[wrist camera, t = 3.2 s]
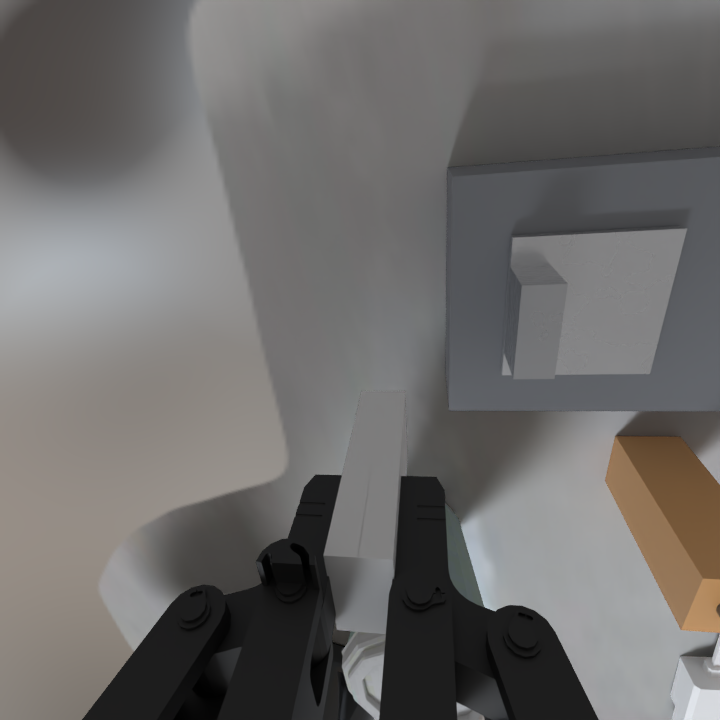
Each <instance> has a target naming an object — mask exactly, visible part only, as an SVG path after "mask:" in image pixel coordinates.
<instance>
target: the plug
mask: <svg viewBox="0 0 720 720" xmlns="http://www.w3.org/2000/svg"><path fill="white" fill-rule="evenodd" d="M605 482H606V484H607V486H608V488H609V489H610V491H611V493H612V495H613V497H614V499H615V501H616V503H617V505H618V507H619V509H620V511H621V513H622V515H623V517H624V519H625V521H626V523H627V525H628V527H629V529H630V531H631V533H632V535H633V537H634V539H635V541H636V543H637V545H638V546H639V548H640V550H641V552H642V554H643V556H644V558H645V560H646V562H647V564H648V566H649V568H650V570H651V572H652V574H653V576H654V578H655V580H656V582H657V584H658V586H659V588H660V590H661V592H662V594H663V596H664V598H665V600H666V601H667V603H668V605H669V607H670V609H671V611H672V613H673V615H674V617H675V619H676V621H677V623H678V625H679V627H680V629H681V630H688V631H702V632H717V633H720V485H719V483H718V482H717V481H716V480H715V478H714V477H713V476H712V475H711V474H710V472H709V471H708V470H707V469H706V467H705V466H704V465H703V464H702V463H701V461H700V460H699V459H698V458H697V456H696V455H695V454H694V453H693V452H692V450H691V449H690V448H689V447H688V445H687V444H686V443H685V442H684V441H683V439H682V438H681V437H666V436H615V440H614V444H613V448H612V453H611V457H610V461H609V466H608V470H607V474H606V479H605Z"/></svg>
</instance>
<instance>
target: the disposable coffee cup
mask: <svg viewBox="0 0 720 720" xmlns="http://www.w3.org/2000/svg"><path fill="white" fill-rule="evenodd" d="M445 511H446V530H447V550H448V569H449V575H450V579H451V581H452V583H453V585H454V586H455V588H456V589H457V590H458V591H459V593H460V594H461V595H463V596H464V597H465V598H466V599H468V600H469V601H471V602H473V603H475V604H477V605H480V606H482V607H484V605H483V601H482V598H481V594H480V591H479V588H478V584H477V581H476V577H475V574H474V570H473V567H472V564H471V560H470V557H469V553H468V550H467V547H466V543H465V540H464V536H463V533H462V529H461V526H460V523H459V519H458V518H457V516H456V515H455V514H454V512H453V511H452V510H451V508H450V507H449V506H448V505H447V504H446V503H445ZM385 638H386V634H378V633H366V632H354V631H351V632H350V636H349V639H348V643H347V645H346V646H345V648H344V649H343V650H342V655H343V658H342V669H343V672H344V676H345V680H346V683H347V687H348V690H349V692H350V693H351V694H352V695H353V698H354V700H355V701H356V702H357V703H358V704H359V705H360V706H361V707H362V708H364V709H365V710H366V711H367V712H368V713H369V714H370V715H371V716H372V717H373V718H375V719H376V720H379V715H380V702H381V689H382V676H383V664H384V651H385ZM457 720H485V719H484V716H483V715H481V714H479V713H477V712H475V711H473V710H471V709H469V708H467V707H465V706H463V705H461V704H459V703H457Z"/></svg>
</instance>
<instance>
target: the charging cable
mask: <svg viewBox="0 0 720 720" xmlns="http://www.w3.org/2000/svg"><path fill="white" fill-rule="evenodd" d="M670 696H671V698H672V701H673V703H674V705H675V709H674V713H673V717H672V720H720V634H719V638H718V641H717V644H716V648H715V651H714V654H713V657H696V656H680V659H679V663H678V667H677V671H676V675H675V679H674V683H673V687H672V691H671V695H670Z"/></svg>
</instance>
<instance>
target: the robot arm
mask: <svg viewBox="0 0 720 720" xmlns="http://www.w3.org/2000/svg"><path fill="white" fill-rule="evenodd" d="M407 457H408V449H407V425H406V400H405V391H361V395H360V399H359V404H358V408H357V412H356V417H355V421H354V425H353V430H352V434H351V438H350V443H349V447H348V451H347V456H346V460H345V464H344V469H343V473H342V475H315V476H314V477H313V478H312V479H311V480H310V481H309V483H308V484H307V485H306V486H305V487H304V490H303V493H302V496H301V499H300V505H299V506H298V509H297V512H296V517H295V518H294V521H293V524H292V527H291V530H290V533H289V536H288V539H281V540H279V541H277V542H274V543H272V544H270V545H269V546H268V547H267V548H266V549H264V550H263V551H262V552H261V554H260V555H259V557H258V559H257V560H256V564H257V568H258V571H259V575H260V578H261V581H262V583H261V584H260V585H258V586H256V587H253V588H250V589H248V590H244V591H240V592H236V593H232V594H228V595H223V593H222V591H221V590H219V589H218V588H216V587H215V586H210V585H201V586H197V587H193V588H191V589H189V590H187V591H185V592H184V593H182V594H180V595H179V596H178V597H177V598H176V599H175V600H174V601H173V602H172V603H171V605H170V606H169V607H168V608H167V610H166V611H165V612H164V614H163V615H162V616H161V618H160V619H159V620H158V622H157V623H156V624H155V625H154V627H153V628H152V629H151V631H150V632H149V633H148V635H147V636H146V637H145V638H144V640H143V641H142V642H141V644H140V645H139V646H138V648H137V649H136V650H135V651H134V653H133V654H132V656H131V657H130V658H129V659H128V661H127V662H126V663H125V665H124V666H123V667H122V669H121V670H120V671H119V672H118V674H117V675H116V676H115V678H114V679H113V680H112V682H111V683H110V684H109V685H108V687H107V688H106V689H105V691H104V692H103V693H102V695H101V696H100V697H99V698H98V700H97V701H96V702H95V704H94V705H93V706H92V708H91V709H90V710H89V712H88V713H87V714H86V715H85V717H84V718H83V719H82V720H374V718H373V717H372V716H371V715H370V714H369V713H368V712H367V711H366V710H365V709H364V708H362V707H361V706H360V705H359V704H358V703H357V702H356V701H355V700H354V698H353V695H352V694H351V693H350V692H349V690H348V687H347V683H346V680H345V676H344V672H343V669H342V658H343V655H342V650H343V649H344V647H342V646H339V645H336V644H333V643H332V634H333V628H334V623H335V622H336V627H337V630H342V631H354V632H366V633H378V634H386V638H385V651H384V664H383V676H382V689H381V702H380V715H379V720H457V703H459V704H461V705H463V706H465V707H467V708H469V709H471V710H473V711H475V712H477V713H479V714H481V715H483V716H484V719H485V720H598V718H597V716H596V714H595V712H594V710H593V708H592V705H591V703H590V701H589V699H588V697H587V695H586V693H585V691H584V689H583V687H582V685H581V683H580V681H579V679H578V677H577V675H576V673H575V671H574V669H573V667H572V665H571V663H570V661H569V659H568V657H567V655H566V653H565V651H564V649H563V647H562V645H561V643H560V641H559V639H558V637H557V635H556V633H555V631H554V630H553V628H552V627H551V626H550V624H549V623H548V621H547V620H546V619H545V618H543V617H542V616H541V615H539V614H538V613H537V612H536V611H534V610H531V609H529V608H526V607H523V606H515V605H508V606H505V607H503V608H500V609H498V610H497V611H496V612H495V611H492V610H490V609H487V608H485V607H482V606H480V605H477V604H475V603H473V602H471V601H469V600H468V599H466V598H465V597H464V596H463V595H461V594H460V593H459V591H458V590H457V589H456V588H455V586H454V585H453V583H452V581H451V579H450V575H449V569H448V550H447V530H446V511H445V492H444V489H443V487H442V486H441V484H440V482H439V481H438V479H437V477H419V476H407Z"/></svg>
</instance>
